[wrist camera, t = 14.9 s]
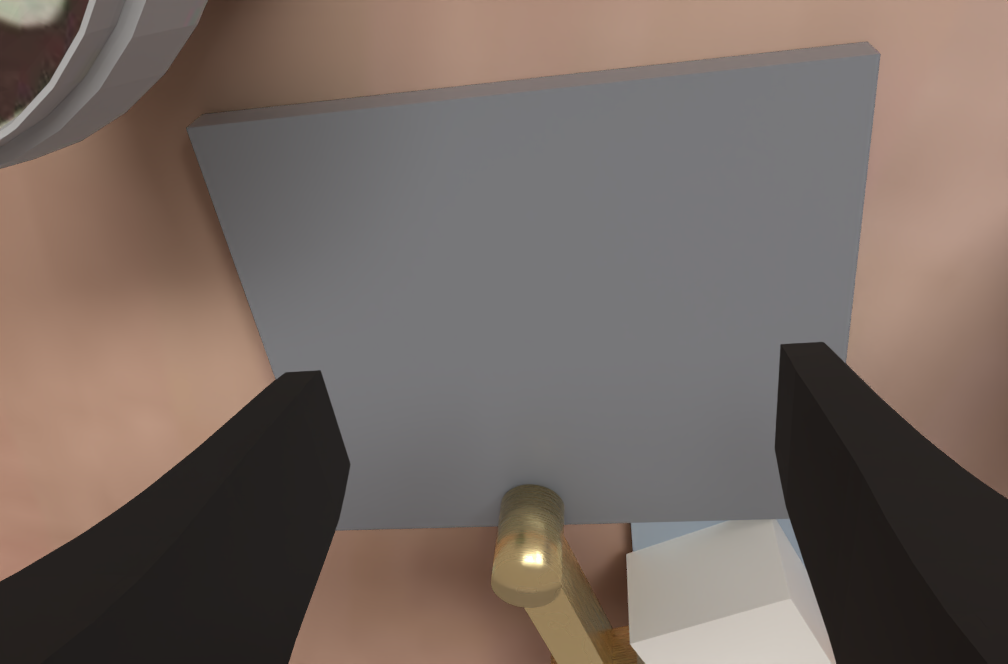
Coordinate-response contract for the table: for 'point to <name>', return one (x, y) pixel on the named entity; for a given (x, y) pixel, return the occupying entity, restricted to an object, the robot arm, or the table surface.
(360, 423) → the base plate
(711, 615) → the white rectangular block
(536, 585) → the brass T-key
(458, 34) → the table surface
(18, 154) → the food container
